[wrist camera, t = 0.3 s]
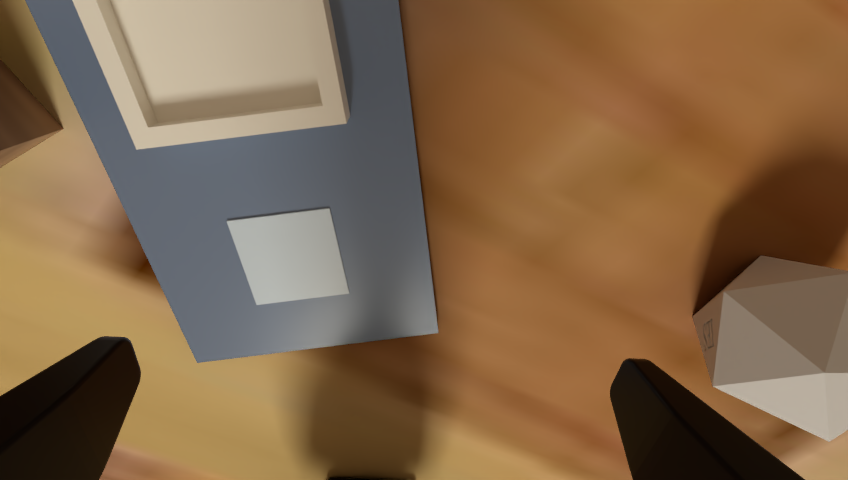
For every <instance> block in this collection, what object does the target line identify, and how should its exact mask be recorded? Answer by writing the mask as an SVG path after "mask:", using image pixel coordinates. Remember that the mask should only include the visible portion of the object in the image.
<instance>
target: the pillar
mask: <svg viewBox="0 0 848 480" xmlns="http://www.w3.org/2000/svg"><path fill="white" fill-rule="evenodd" d="M62 129H63V128H62V127H61V125H60V124H59V123H58V122H57V121H56V120H55V119H54V118H53V117H52V116H51V115H50V113H49V112H48V111H47V110H46V109H45V108H44V107H43V106H42V105H41V104H40V102H39V101H38V100H37V99H36V98H35V97H34V96H33V95H32V94H31V93H30V92H29V90H28V89H27V88H26V87H25V86H24V85H23V84H22V83H21V82H20V81H19V79H18V78H17V77H16V76H15V75H14V74H13V73H12V72H11V71H10V70H9V69H8V67H7V66H6V65H5V64H4V63H3V62H2V61H1V60H0V167H2V166H4V165H5V164H7V163H9V162H10V161H12V160H13V159H15V158H17V157H18V156H20V155H22V154H23V153H25V152H26V151H28V150H30V149H31V148H33V147H35V146H36V145H38V144H39V143H41V142H43V141H44V140H46V139H48V138H49V137H51V136H52V135H54V134H56V133H57V132H59V131H61V130H62Z"/></svg>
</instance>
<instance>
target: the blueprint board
mask: <svg viewBox="0 0 848 480" xmlns="http://www.w3.org/2000/svg"><path fill="white" fill-rule="evenodd" d="M25 1H26V3H27V5H28V7H29V9H30V12H31V14H32V16H33V18H34V20H35V22H36V24H37V26H38V28H39V31H40V33H41V35H42V37H43V39H44V41H45V43H46V45H47V47H48V49H49V52H50V54H51V56H52V58H53V60H54V62H55V64H56V66H57V68H58V71H59V73H60V75H61V77H62V79H63V81H64V83H65V85H66V87H67V90H68V92H69V94H70V96H71V98H72V100H73V102H74V104H75V106H76V108H77V111H78V113H79V115H80V117H81V119H82V121H83V123H84V125H85V127H86V130H87V132H88V134H89V136H90V138H91V140H92V142H93V144H94V146H95V149H96V151H97V153H98V155H99V157H100V159H101V161H102V163H103V165H104V167H105V170H106V172H107V174H108V176H109V178H110V180H111V182H112V184H113V186H114V189H115V191H116V193H117V195H118V197H119V199H120V201H121V203H122V205H123V208H124V210H125V212H126V214H127V216H128V218H129V220H130V222H131V224H132V226H133V229H134V231H135V233H136V235H137V237H138V239H139V241H140V243H141V245H142V248H143V250H144V252H145V254H146V256H147V258H148V260H149V262H150V264H151V267H152V269H153V271H154V273H155V275H156V277H157V279H158V281H159V283H160V285H161V288H162V290H163V292H164V294H165V296H166V298H167V300H168V302H169V304H170V307H171V309H172V311H173V313H174V315H175V317H176V319H177V321H178V323H179V326H180V328H181V330H182V332H183V334H184V336H185V338H186V340H187V342H188V344H189V347H190V349H191V351H192V353H193V355H194V357H195V359H196V361H197V363H199V362H207V361H216V360H224V359H232V358H240V357H248V356H256V355H264V354H272V353H280V352H288V351H296V350H304V349H313V348H321V347H329V346H337V345H345V344H353V343H361V342H369V341H377V340H385V339H393V338H402V337H410V336H418V335H426V334H434V333H438V324H437V316H436V308H435V300H434V291H433V283H432V275H431V266H430V258H429V250H428V242H427V233H426V225H425V217H424V208H423V200H422V192H421V184H420V175H419V167H418V159H417V150H416V142H415V134H414V126H413V117H412V109H411V101H410V92H409V84H408V76H407V68H406V59H405V51H404V43H403V34H402V26H401V18H400V10H399V1H398V0H25Z"/></svg>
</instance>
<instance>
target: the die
mask: <svg viewBox="0 0 848 480" xmlns="http://www.w3.org/2000/svg"><path fill="white" fill-rule="evenodd" d="M693 321H694V324H695V328H696V331H697V334H698V338H699V341H700V345H701V348H702V352H703V355H704V358H705V362H706V365H707V369H708V372H709V376H710V379H711V382H712V386H713V387H715V388H717V389H719V390H721V391H723V392H726V393H728V394H730V395H732V396H734V397H736V398H738V399H740V400H742V401H745V402H747V403H749V404H751V405H753V406H755V407H757V408H759V409H761V410H764V411H766V412H768V413H770V414H772V415H774V416H776V417H778V418H780V419H782V420H785V421H787V422H789V423H791V424H793V425H795V426H797V427H799V428H801V429H804V430H806V431H808V432H810V433H812V434H814V435H816V436H818V437H820V438H822V439H825V440H827V441H829V442H830V441H831V440H833V439H834V438H836V437H837V436H839V435H840V434H842V433H843V432H845V431H846V430H848V271H845V270H840V269H834V268H828V267H823V266H817V265H812V264H806V263H801V262H795V261H790V260H784V259H778V258H773V257H767V256H762V255H761V256H760V257H759V258H757V259H756V260H755V261H754V262H753V263H752V264H751V265H750V266H749V267H747V268H746V269H745V270H744V271H743V272H742V273H741V274H740V275H738V276H737V277H736V278H735V279H734V280H733V281H732V282H731V283H729V284H728V285H727V286H726V287H725V288H724V289H723V290H722V291H721V292H719V293H718V294H717V295H716V296H715V297H714V298H713V299H712V300H710V301H709V302H708V303H707V304H706V305H705V306H704V307H703V308H702V309H700V310H699V311H698V312H697V313H696V314H695V315H694V316H693Z"/></svg>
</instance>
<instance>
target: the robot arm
mask: <svg viewBox="0 0 848 480" xmlns="http://www.w3.org/2000/svg"><path fill="white" fill-rule="evenodd" d="M140 377H141V371H140V367H139V364H138V361H137V358H136V355H135V352H134V349H133V346H132V343H131V341H130V340H129V339H128V338H125V337H109V336H104V337H100V338H97V339H95V340H94V341H92V342H90V343H89V344H87V345H85V346H84V347H82V348H80V349H79V350H77V351H75V352H74V353H72V354H70V355H68V356H67V357H65V358H63V359H62V360H60V361H58V362H57V363H55V364H53V365H52V366H50V367H48V368H47V369H45V370H43V371H42V372H40V373H38V374H37V375H35V376H33V377H32V378H30V379H28V380H26V381H25V382H23V383H21V384H20V385H18V386H16V387H15V388H13V389H11V390H10V391H8V392H6V393H5V394H3V395H1V396H0V480H99V478H100V476H101V474H102V472H103V470H104V468H105V466H106V464H107V461H108V459H109V457H110V454H111V452H112V449H113V447H114V444H115V442H116V439H117V437H118V435H119V432H120V430H121V427H122V425H123V422H124V420H125V417H126V415H127V412H128V410H129V407H130V405H131V402H132V400H133V397H134V395H135V392H136V390H137V387H138V385H139V382H140ZM610 398H611V402H612V406H613V410H614V413H615V417H616V421H617V424H618V428H619V432H620V435H621V439H622V443H623V446H624V450H625V454H626V457H627V461H628V465H629V468H630V471H631V475H632V478H633V480H805V479H803V478H802V477H801V476H799V475H798V474H797V473H796V472H794V471H793V470H792V469H790V468H789V467H788V466H786V465H785V464H784V463H783V462H781V461H780V460H779V459H777V458H776V457H775V456H773V455H772V454H771V453H770V452H768V451H767V450H766V449H764V448H763V447H762V446H760V445H759V444H758V443H756V442H755V441H754V440H753V439H751V438H750V437H749V436H747V435H746V434H745V433H743V432H742V431H741V430H740V429H738V428H737V427H736V426H734V425H733V424H732V423H730V422H729V421H728V420H727V419H725V418H724V417H723V416H721V415H720V414H719V413H717V412H716V411H715V410H713V409H712V408H711V407H710V406H708V405H707V404H706V403H704V402H703V401H702V400H700V399H699V398H698V397H697V396H695V395H694V394H693V393H691V392H690V391H689V390H687V389H686V388H685V387H684V386H682V385H681V384H680V383H678V382H677V381H676V380H674V379H673V378H672V377H671V376H669V375H668V374H667V373H665V372H664V371H663V370H661V369H660V368H659V367H657V366H656V365H655V364H654V363H652V362H651V361H649V360H646V359H631V358H629V359H626V360H625V361H623V363H622V365H621V367H620V369H619V371H618V373H617V375H616V377H615V379H614V381H613V383H612V385H611V389H610ZM328 480H365V479H346V478H330V479H328Z"/></svg>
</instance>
